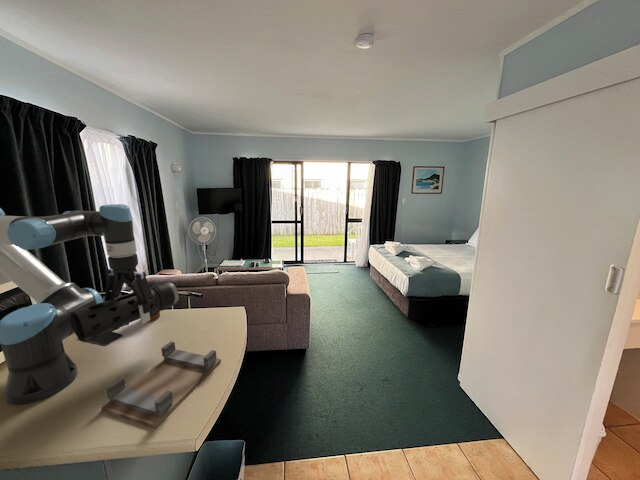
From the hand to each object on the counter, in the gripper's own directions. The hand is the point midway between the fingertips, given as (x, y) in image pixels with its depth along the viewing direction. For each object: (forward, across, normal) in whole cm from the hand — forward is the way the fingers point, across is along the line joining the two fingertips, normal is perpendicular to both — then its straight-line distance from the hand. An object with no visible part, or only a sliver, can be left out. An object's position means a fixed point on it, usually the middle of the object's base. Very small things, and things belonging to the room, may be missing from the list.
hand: (132, 318), depth 91 cm
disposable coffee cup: (+15, -19, +22) cm, 32 cm away
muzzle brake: (+2, 0, 0) cm, 2 cm away
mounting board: (+14, +19, -7) cm, 25 cm away
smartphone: (+15, -25, +5) cm, 30 cm away
